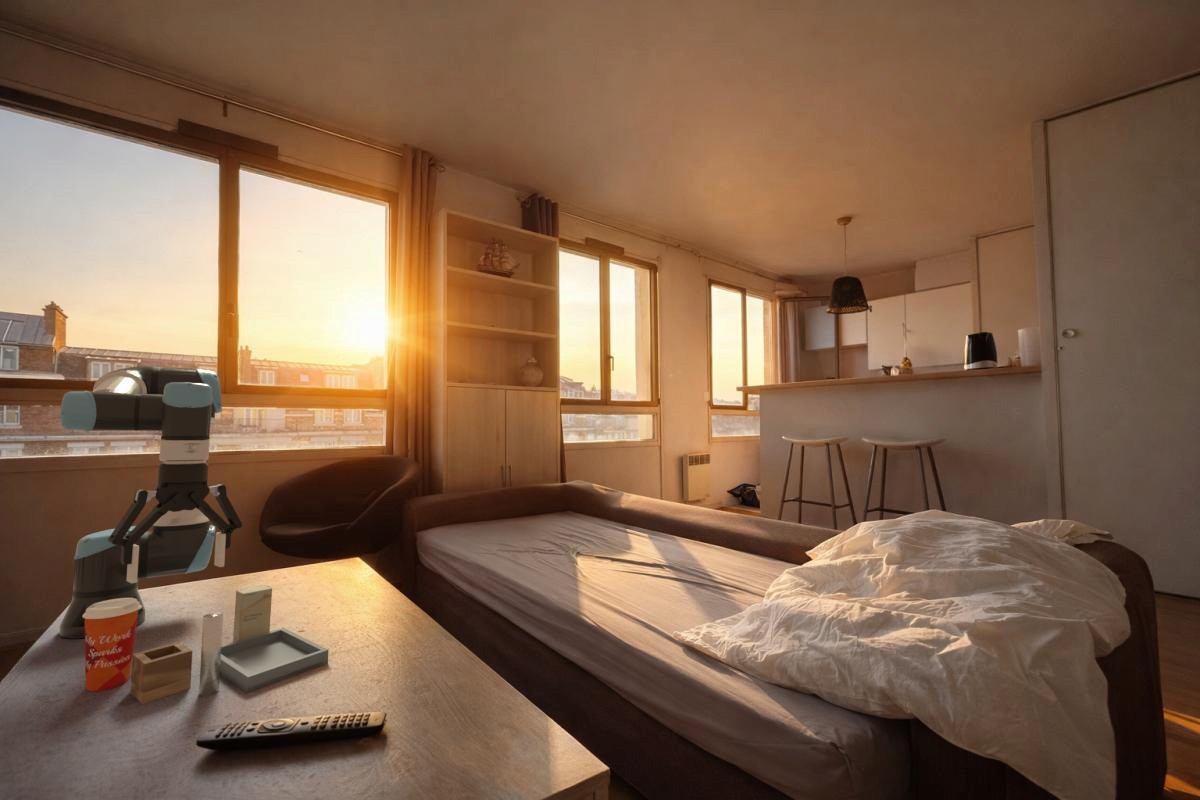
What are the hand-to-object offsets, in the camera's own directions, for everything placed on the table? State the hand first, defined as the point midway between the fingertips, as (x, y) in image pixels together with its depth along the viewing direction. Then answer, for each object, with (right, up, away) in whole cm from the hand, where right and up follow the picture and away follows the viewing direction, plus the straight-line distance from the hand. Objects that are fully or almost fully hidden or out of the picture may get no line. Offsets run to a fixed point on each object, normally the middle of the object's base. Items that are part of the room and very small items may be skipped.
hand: (177, 573), depth 99 cm
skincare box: (+1, -23, +19) cm, 29 cm away
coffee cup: (-13, -21, 0) cm, 25 cm away
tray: (+11, -22, +9) cm, 26 cm away
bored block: (-1, -21, -2) cm, 21 cm away
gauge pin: (+8, -21, -3) cm, 23 cm away
